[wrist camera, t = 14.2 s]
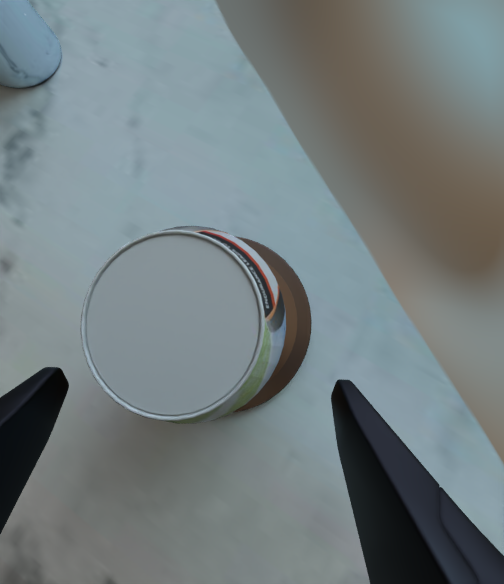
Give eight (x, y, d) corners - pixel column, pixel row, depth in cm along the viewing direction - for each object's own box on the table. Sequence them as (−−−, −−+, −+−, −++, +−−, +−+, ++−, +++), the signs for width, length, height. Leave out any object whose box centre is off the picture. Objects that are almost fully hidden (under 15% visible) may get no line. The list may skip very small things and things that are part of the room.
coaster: (271, 440, 18) (272, 444, 18) (105, 368, 19) (100, 370, 18) (333, 276, 20) (336, 274, 20) (182, 213, 21) (180, 209, 20)
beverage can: (297, 330, 19) (393, 323, 7) (206, 397, 18) (140, 519, 6) (243, 257, 19) (248, 135, 8) (153, 318, 19) (0, 287, 7)
